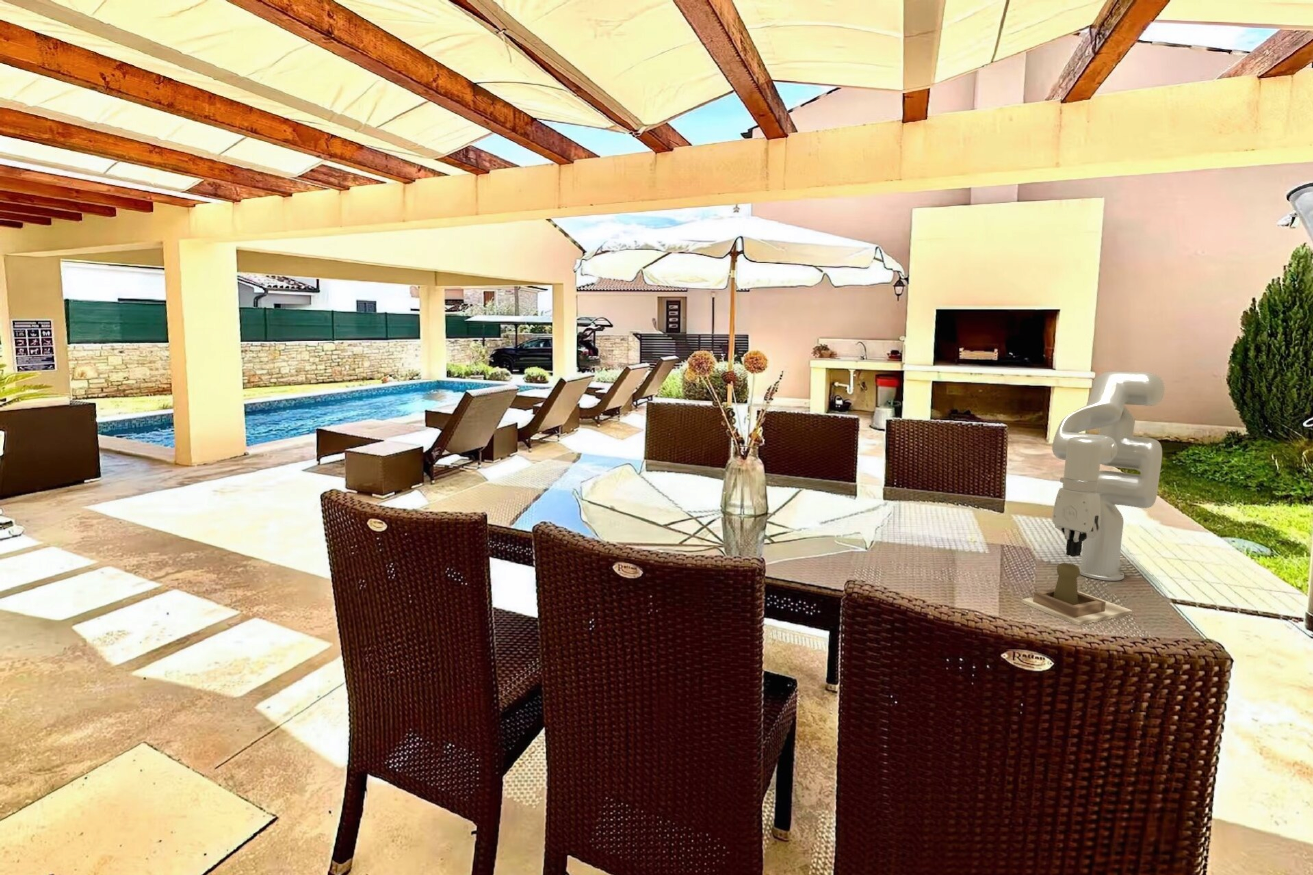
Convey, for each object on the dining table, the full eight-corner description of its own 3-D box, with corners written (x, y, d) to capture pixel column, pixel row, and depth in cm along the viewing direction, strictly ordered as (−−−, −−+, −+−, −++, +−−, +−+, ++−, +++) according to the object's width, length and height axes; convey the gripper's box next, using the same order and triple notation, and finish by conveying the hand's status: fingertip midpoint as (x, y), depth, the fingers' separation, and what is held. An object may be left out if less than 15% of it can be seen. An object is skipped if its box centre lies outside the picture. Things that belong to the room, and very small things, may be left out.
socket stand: (1073, 592, 190) (1074, 580, 190) (1131, 614, 176) (1133, 601, 175) (1021, 602, 183) (1023, 590, 182) (1078, 625, 168) (1079, 612, 167)
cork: (1049, 605, 179) (1053, 564, 177) (1054, 598, 183) (1057, 559, 182) (1076, 611, 175) (1080, 569, 173) (1080, 604, 179) (1084, 563, 178)
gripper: (1043, 481, 179) (1036, 548, 181) (1098, 492, 165) (1091, 565, 167) (1063, 479, 181) (1056, 545, 184) (1119, 490, 168) (1111, 562, 170)
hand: (1073, 555), depth 176 cm, fingers closed
